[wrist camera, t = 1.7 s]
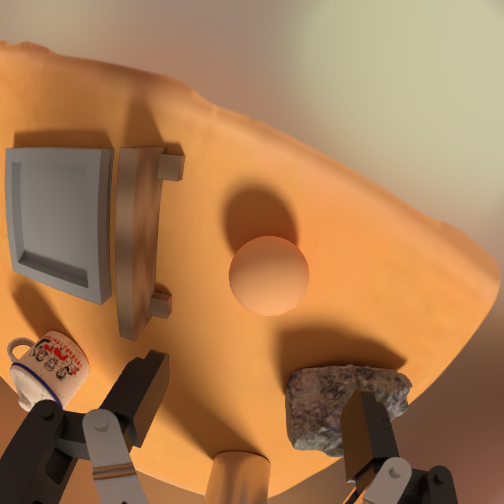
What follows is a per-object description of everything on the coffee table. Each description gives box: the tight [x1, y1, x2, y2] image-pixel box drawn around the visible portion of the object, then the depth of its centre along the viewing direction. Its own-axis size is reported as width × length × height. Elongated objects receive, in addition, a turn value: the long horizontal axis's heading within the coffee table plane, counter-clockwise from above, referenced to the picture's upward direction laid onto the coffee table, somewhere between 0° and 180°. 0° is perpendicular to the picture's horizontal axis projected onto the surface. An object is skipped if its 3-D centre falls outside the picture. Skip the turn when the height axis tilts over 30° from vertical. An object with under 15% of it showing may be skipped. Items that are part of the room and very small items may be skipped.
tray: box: [5, 147, 114, 305], centre depth 24 cm, size 15×15×2 cm
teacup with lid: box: [7, 331, 90, 411], centre depth 27 cm, size 12×9×12 cm
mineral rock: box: [285, 364, 412, 457], centre depth 24 cm, size 13×11×10 cm
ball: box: [229, 236, 309, 316], centre depth 22 cm, size 6×6×6 cm
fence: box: [115, 146, 185, 341], centre depth 22 cm, size 16×5×5 cm, turn 170°
